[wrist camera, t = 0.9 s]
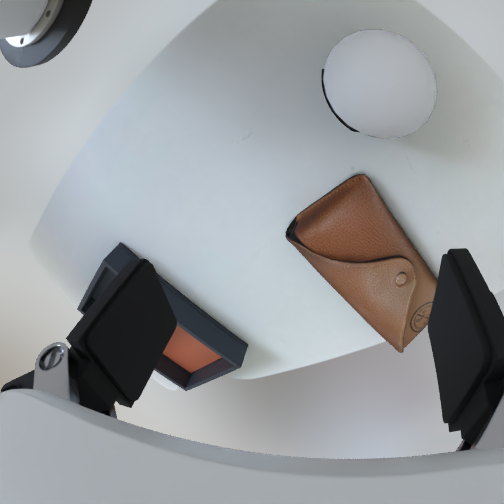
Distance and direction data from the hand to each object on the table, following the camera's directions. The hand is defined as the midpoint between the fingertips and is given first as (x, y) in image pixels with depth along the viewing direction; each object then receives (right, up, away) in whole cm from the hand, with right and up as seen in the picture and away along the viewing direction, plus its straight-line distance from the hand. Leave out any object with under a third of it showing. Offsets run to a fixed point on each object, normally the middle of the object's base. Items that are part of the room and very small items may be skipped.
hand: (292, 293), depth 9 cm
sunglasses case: (+11, 0, +18) cm, 21 cm away
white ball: (+8, +13, +10) cm, 18 cm away
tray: (-13, -8, +30) cm, 33 cm away
